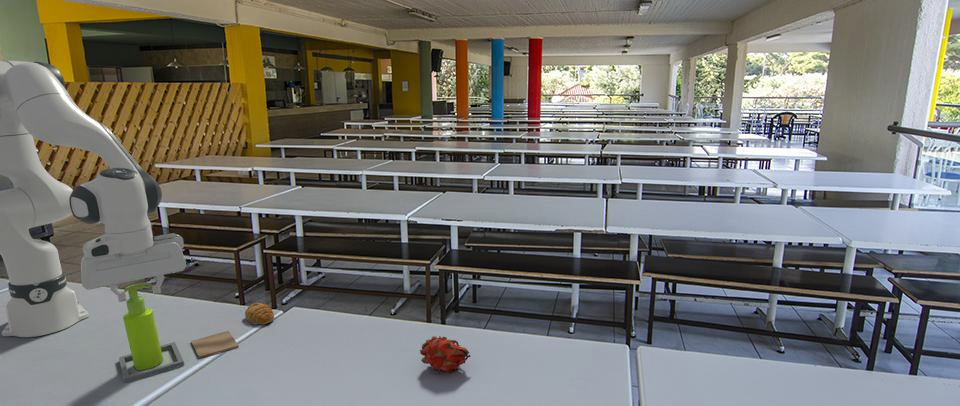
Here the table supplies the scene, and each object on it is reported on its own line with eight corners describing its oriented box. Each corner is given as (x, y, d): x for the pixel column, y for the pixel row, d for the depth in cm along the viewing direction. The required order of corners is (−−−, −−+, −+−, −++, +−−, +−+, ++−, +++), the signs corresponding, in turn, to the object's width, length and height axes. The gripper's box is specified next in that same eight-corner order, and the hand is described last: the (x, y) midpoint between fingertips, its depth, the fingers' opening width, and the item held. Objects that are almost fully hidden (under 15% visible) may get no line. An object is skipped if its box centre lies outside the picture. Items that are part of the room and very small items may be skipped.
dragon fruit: (417, 370, 126) (466, 380, 125) (412, 367, 118) (464, 378, 117) (425, 334, 129) (473, 344, 128) (421, 329, 122) (472, 339, 120)
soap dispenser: (165, 365, 126) (148, 287, 121) (132, 372, 124) (113, 293, 118) (169, 353, 131) (153, 278, 126) (137, 359, 129) (119, 283, 124)
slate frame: (119, 361, 128) (118, 357, 128) (175, 345, 136) (174, 341, 135) (124, 382, 119) (123, 379, 119) (184, 365, 126) (183, 361, 126)
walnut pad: (191, 342, 137) (191, 341, 137) (228, 332, 142) (228, 330, 142) (199, 358, 129) (199, 356, 129) (238, 346, 135) (238, 345, 134)
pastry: (281, 320, 149) (279, 308, 148) (257, 329, 145) (256, 316, 144) (265, 311, 156) (264, 299, 155) (242, 318, 151) (240, 306, 150)
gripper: (179, 228, 129) (187, 282, 132) (74, 245, 116) (86, 303, 120) (184, 234, 124) (192, 289, 127) (75, 252, 112) (87, 313, 115)
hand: (140, 296), depth 123 cm, fingers closed on soap dispenser, 5 cm apart
